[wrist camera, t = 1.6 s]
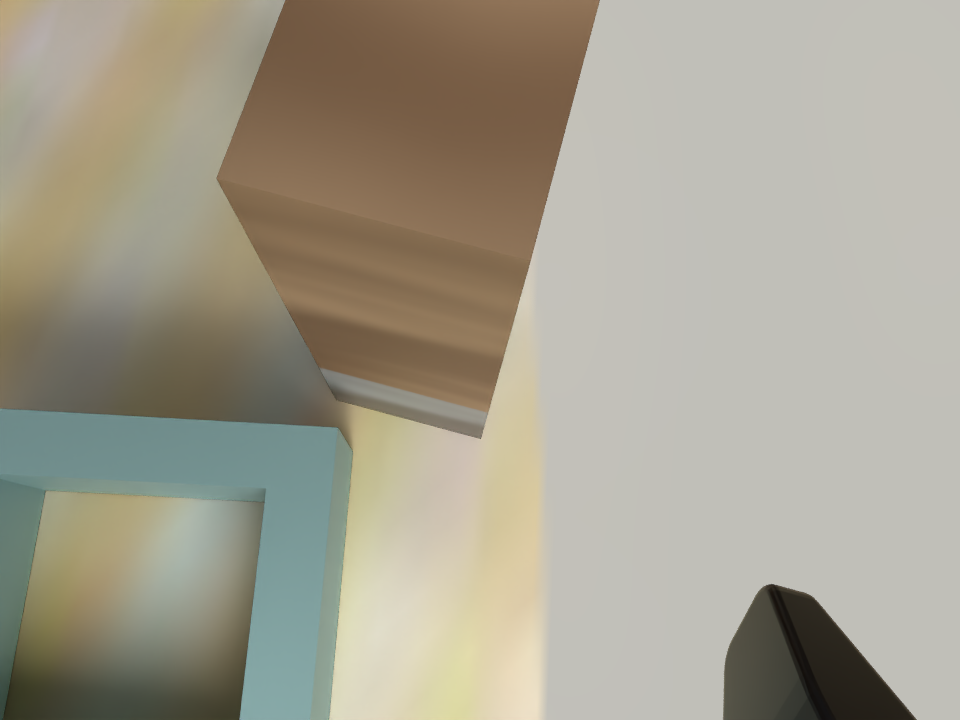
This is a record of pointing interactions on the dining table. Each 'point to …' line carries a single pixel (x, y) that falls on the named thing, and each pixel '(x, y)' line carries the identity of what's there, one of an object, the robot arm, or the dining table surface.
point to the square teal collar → (205, 475)
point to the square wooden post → (406, 186)
